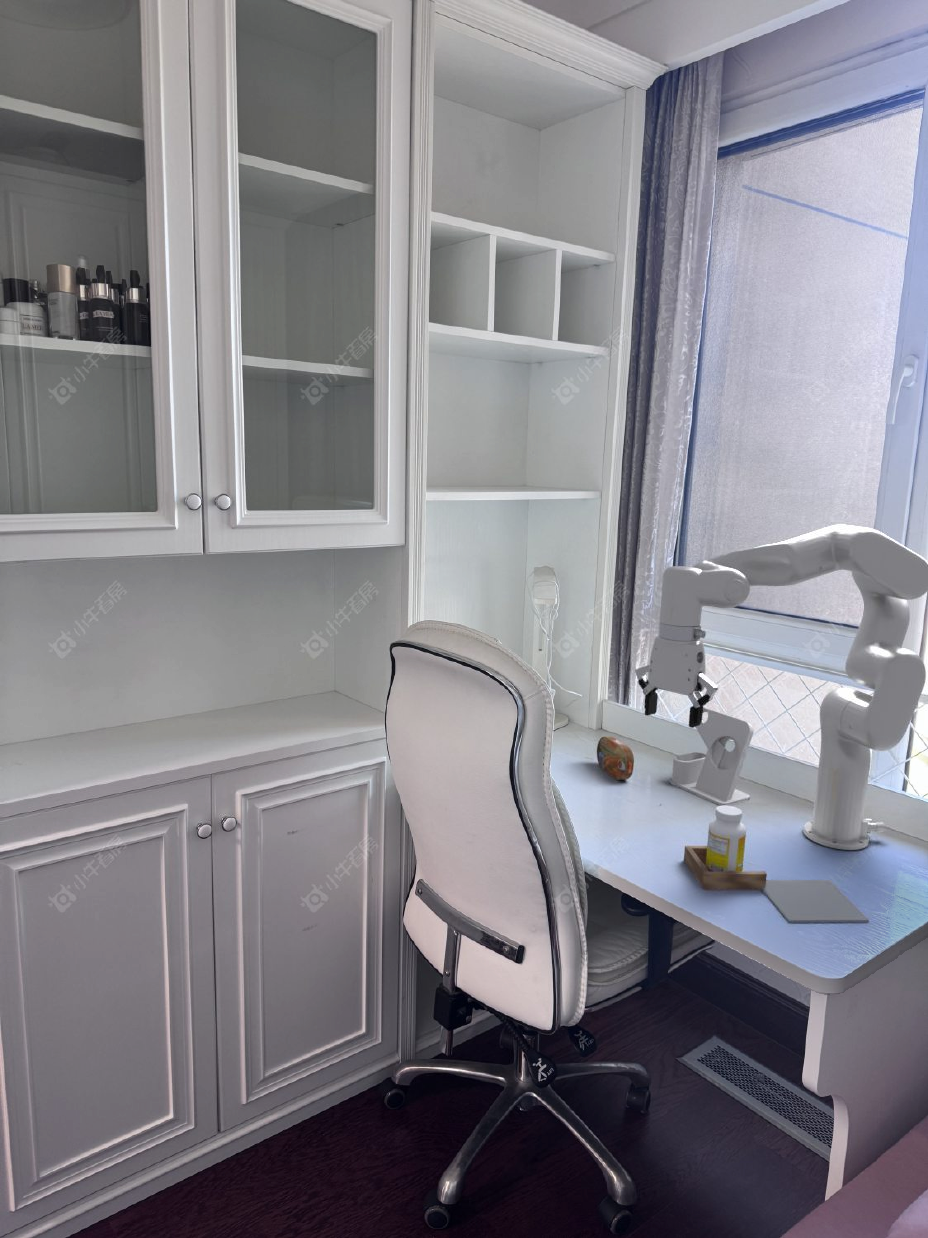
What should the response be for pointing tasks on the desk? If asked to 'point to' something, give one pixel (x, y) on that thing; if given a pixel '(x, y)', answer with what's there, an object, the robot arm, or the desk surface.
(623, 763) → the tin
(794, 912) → the mat
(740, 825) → the supplement bottle
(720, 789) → the phone holder
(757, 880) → the wooden u-shaped frame
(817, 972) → the desk surface
